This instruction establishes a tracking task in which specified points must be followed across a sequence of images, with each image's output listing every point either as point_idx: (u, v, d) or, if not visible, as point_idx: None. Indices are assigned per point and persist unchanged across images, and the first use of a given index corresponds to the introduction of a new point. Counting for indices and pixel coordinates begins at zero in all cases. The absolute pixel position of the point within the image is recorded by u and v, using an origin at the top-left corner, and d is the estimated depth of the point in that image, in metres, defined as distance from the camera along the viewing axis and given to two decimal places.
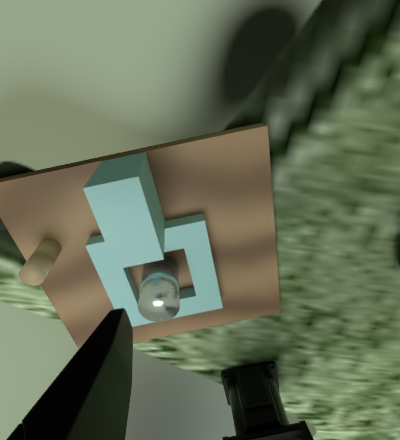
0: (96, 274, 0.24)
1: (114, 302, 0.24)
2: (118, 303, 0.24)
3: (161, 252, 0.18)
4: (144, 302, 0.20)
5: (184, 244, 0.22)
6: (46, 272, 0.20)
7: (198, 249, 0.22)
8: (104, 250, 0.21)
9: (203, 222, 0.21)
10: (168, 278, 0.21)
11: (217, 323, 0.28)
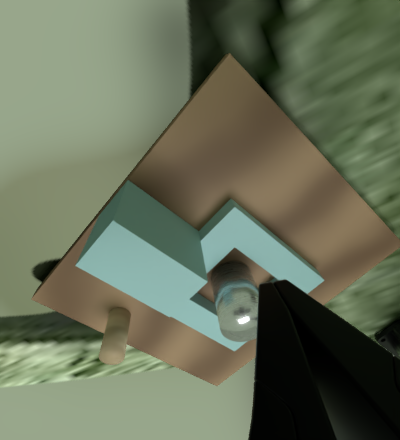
0: None
1: (207, 333, 0.21)
2: (212, 332, 0.21)
3: (200, 276, 0.14)
4: (226, 327, 0.17)
5: (232, 243, 0.18)
6: (122, 345, 0.19)
7: (251, 239, 0.18)
8: None
9: (235, 209, 0.17)
10: (237, 288, 0.18)
11: (332, 296, 0.23)
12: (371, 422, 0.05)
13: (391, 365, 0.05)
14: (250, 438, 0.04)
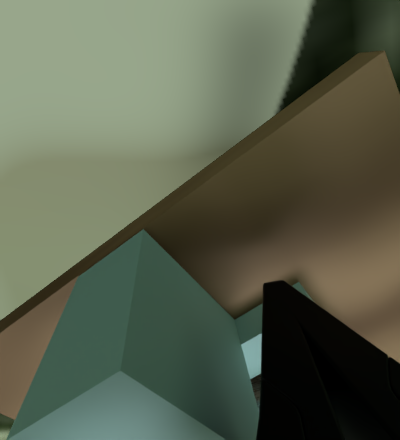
0: None
1: None
2: None
3: None
4: None
5: None
6: None
7: None
8: None
9: None
10: None
11: None
12: (365, 423, 0.05)
13: (386, 366, 0.05)
14: (258, 436, 0.04)
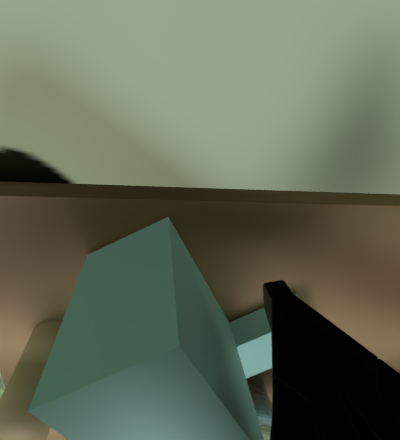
0: None
1: None
2: None
3: None
4: None
5: None
6: None
7: None
8: None
9: None
10: None
11: None
12: None
13: (375, 368, 0.05)
14: (272, 434, 0.04)
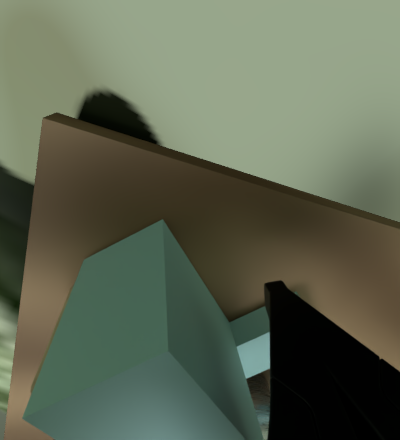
0: None
1: None
2: None
3: None
4: None
5: None
6: None
7: None
8: None
9: None
10: None
11: None
12: (356, 425, 0.05)
13: (377, 367, 0.05)
14: (269, 434, 0.04)
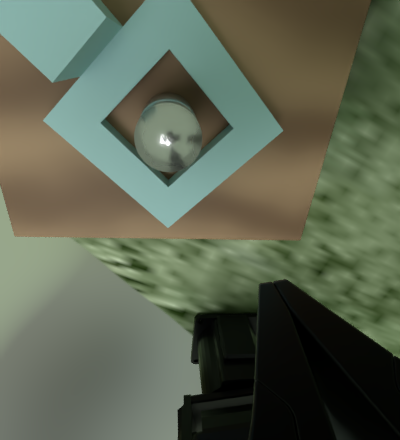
0: None
1: (133, 193, 0.17)
2: (139, 192, 0.17)
3: (94, 4, 0.10)
4: (149, 122, 0.12)
5: (166, 41, 0.13)
6: None
7: (191, 38, 0.13)
8: (70, 114, 0.15)
9: None
10: (189, 108, 0.14)
11: (217, 236, 0.21)
12: (371, 422, 0.05)
13: (391, 365, 0.05)
14: (250, 438, 0.04)
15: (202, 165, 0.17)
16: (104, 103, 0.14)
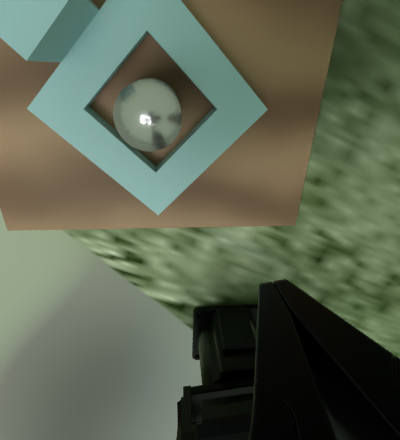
0: None
1: (121, 180, 0.17)
2: (126, 179, 0.17)
3: None
4: (127, 100, 0.12)
5: (143, 22, 0.14)
6: None
7: (168, 18, 0.14)
8: (53, 101, 0.15)
9: None
10: (169, 87, 0.14)
11: (209, 224, 0.20)
12: (371, 422, 0.05)
13: (391, 365, 0.05)
14: (250, 438, 0.04)
15: (188, 148, 0.17)
16: (86, 88, 0.15)
